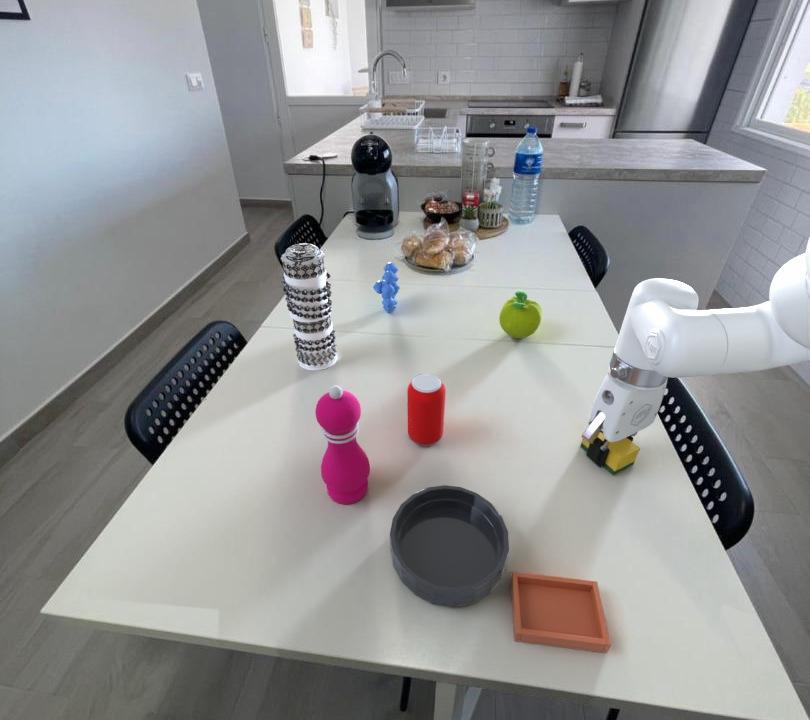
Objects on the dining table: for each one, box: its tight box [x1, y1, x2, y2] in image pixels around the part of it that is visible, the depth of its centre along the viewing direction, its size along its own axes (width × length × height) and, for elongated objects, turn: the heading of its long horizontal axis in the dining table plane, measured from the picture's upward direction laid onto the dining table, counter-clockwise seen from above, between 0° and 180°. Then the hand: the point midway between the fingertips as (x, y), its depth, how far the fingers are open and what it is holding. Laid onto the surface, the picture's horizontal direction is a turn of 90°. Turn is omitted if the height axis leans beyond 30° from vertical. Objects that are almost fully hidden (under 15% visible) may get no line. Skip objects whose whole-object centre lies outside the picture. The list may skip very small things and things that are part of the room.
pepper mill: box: [314, 384, 371, 505], centre depth 63 cm, size 7×7×20 cm
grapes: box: [372, 261, 401, 315], centre depth 111 cm, size 12×7×12 cm, turn 175°
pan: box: [389, 484, 510, 608], centre depth 59 cm, size 15×15×4 cm
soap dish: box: [509, 571, 612, 654], centre depth 53 cm, size 10×7×2 cm
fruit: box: [498, 290, 543, 340], centre depth 101 cm, size 9×9×10 cm
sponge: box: [579, 432, 641, 477], centre depth 72 cm, size 7×4×4 cm, turn 28°
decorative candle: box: [280, 242, 338, 372], centre depth 89 cm, size 9×9×25 cm
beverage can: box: [406, 373, 447, 447], centre depth 74 cm, size 6×6×12 cm
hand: (606, 454), depth 73 cm, fingers closed on sponge, 4 cm apart
